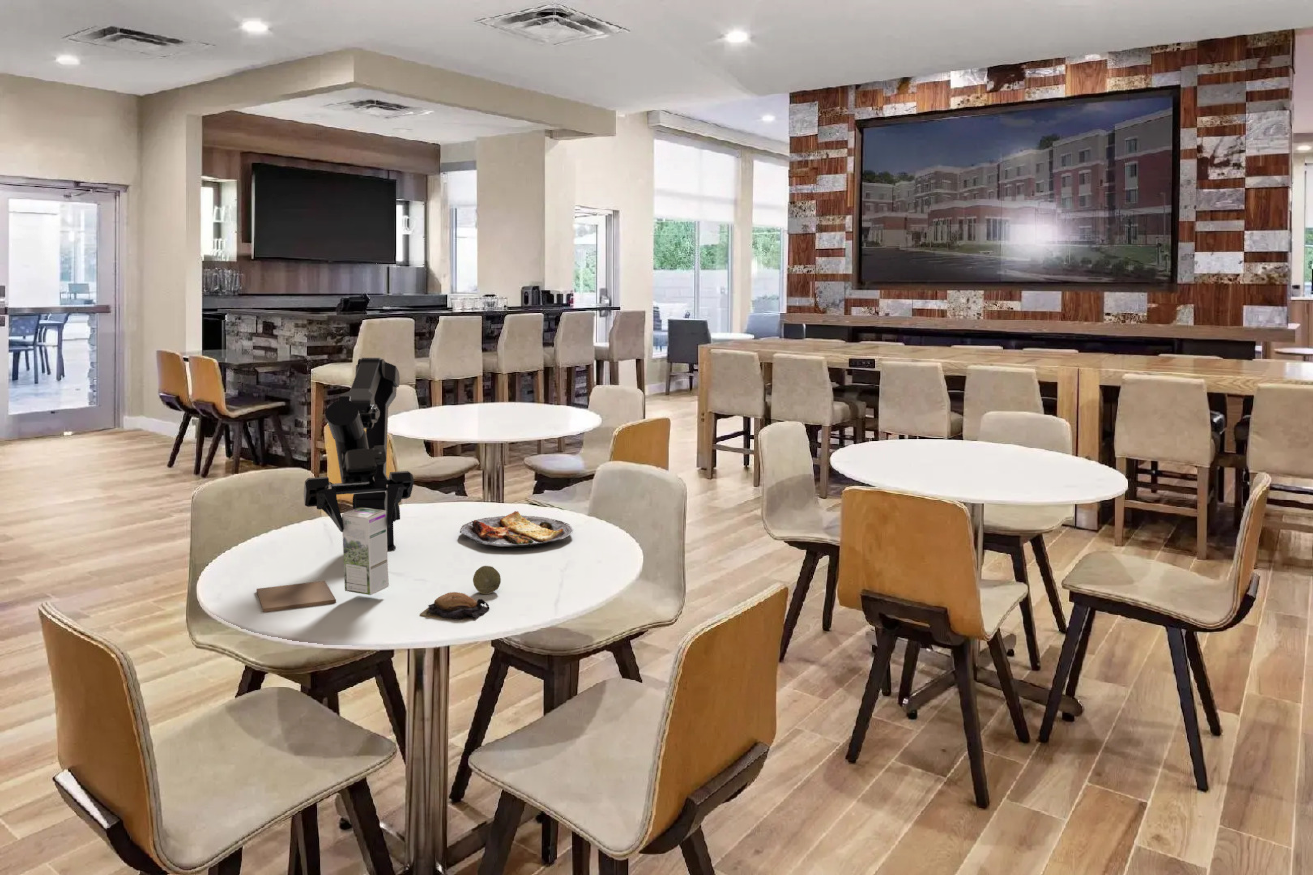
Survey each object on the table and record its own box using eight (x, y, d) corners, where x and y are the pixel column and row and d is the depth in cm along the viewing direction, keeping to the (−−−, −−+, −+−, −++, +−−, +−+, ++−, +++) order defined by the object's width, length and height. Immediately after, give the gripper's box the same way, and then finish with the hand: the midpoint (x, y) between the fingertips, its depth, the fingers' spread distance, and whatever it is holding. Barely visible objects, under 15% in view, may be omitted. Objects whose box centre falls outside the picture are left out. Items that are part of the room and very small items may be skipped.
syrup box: (390, 586, 179) (388, 509, 176) (369, 596, 173) (367, 516, 171) (363, 582, 181) (361, 505, 178) (343, 592, 175) (340, 512, 173)
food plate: (442, 532, 223) (442, 517, 222) (529, 518, 238) (529, 504, 237) (500, 560, 204) (501, 544, 203) (591, 544, 219) (591, 528, 218)
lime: (504, 591, 182) (504, 565, 182) (484, 598, 179) (483, 571, 178) (488, 586, 185) (488, 561, 184) (468, 592, 181) (467, 566, 181)
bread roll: (416, 620, 168) (416, 599, 168) (438, 604, 176) (437, 584, 176) (474, 625, 166) (474, 604, 165) (493, 609, 174) (493, 589, 174)
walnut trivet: (325, 583, 185) (324, 580, 185) (335, 602, 174) (335, 599, 174) (256, 591, 180) (256, 588, 179) (263, 612, 169) (263, 608, 169)
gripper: (302, 433, 172) (313, 509, 164) (410, 427, 180) (425, 499, 172) (299, 468, 180) (309, 542, 172) (402, 462, 188) (416, 532, 180)
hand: (365, 528), depth 174 cm, fingers closed on syrup box, 8 cm apart
